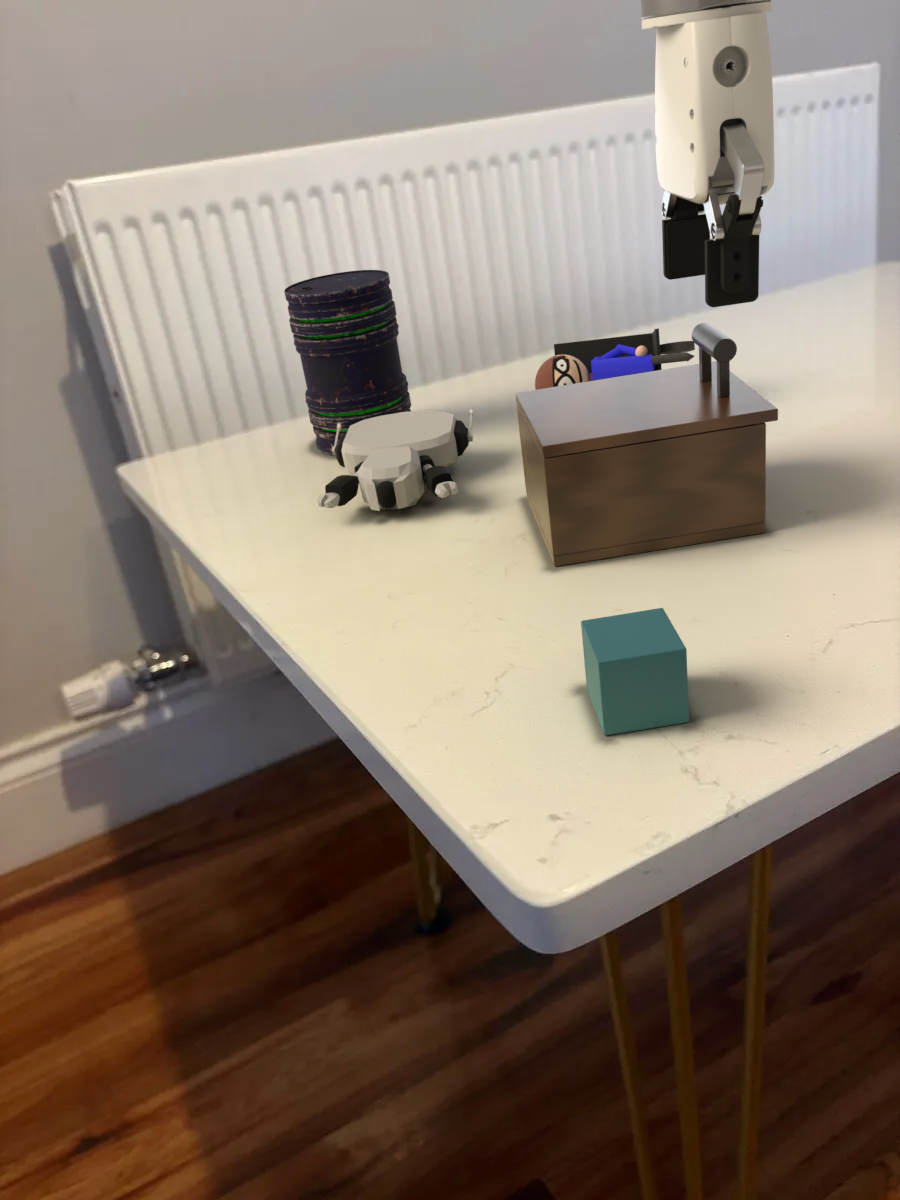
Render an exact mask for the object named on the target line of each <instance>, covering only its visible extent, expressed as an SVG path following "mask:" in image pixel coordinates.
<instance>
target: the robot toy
mask: <svg viewBox="0 0 900 1200" xmlns="http://www.w3.org/2000/svg"><path fill="white" fill-rule="evenodd" d="M468 415H469V422H468V423H469V425H468V427H467V426H466V425H465V423H464V422H463V421H462V420H459V419H457V418H456V417H455V414H453V413H450V412H447V411H443V410H442V411H440V410H416V411H412V410H411V412H400V413H394V414H388V415H382V416H378V417H373V418H369V419H365V420H362V421H360V422H357V423H355V424H353V425H351V426H350V427H349V429H348V432H345V433H343V434H342V436H341V438H340V439H339V434H340V431H341V424H340V423H339V424H337V433H336V438H335V444H334V446H332V454H333V455H332V456H333V457H335V458H336V461H337V463H338V464H339V466H340V467H342V468H345V469H346V471H347V472H348V473H349V474H341V475H338V476H336V477H334V478H333V479H332V480H331V481H330V482H328V483H327V484H325V486H324V487H325V489H324V491H325V493H322V494H319V495H318V497H317V499H316V504H317V506H318V507H320V508H326V509H333V508H336V507H343V506H346V505H347V504H348V503H349V502H350V501H352V500H353V499H354V498H356V496H357V495H358V491H359V488H360V493H361V497H362V500H363V502H364V503H366V504H367V505H368V506H369V508H370V510H371V511H378V512H380V511H382V510H383V511H385V510H400V509H405V508H411V507H414V506H416V505H417V504H418V501H419V500H420V499H421V497H422V496H423V495H424V493H425V485H426V487H427V489H428V490H429V492H430V493H431V494H432V495H433V496H434V497H438V498H441V499H443V498H447V497H449V495H452V496H453V495H457V494H458V492H459V486H458V484H457V483H456V482H455V481H454V479H453V477H452V474H451V472H450V471H448V469H447V468H448V467H450V466H452V465H454V464H456V463H457V459H458V457H461V456H463V455H464V454H465V451H466V450H467V448H468V447H469V444H470V443H471V442H474V435H473V417H474V410H473V409H472V408H471V409H469V414H468ZM338 440H339V441H338Z"/></svg>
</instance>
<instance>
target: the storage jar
mask: <svg viewBox="0 0 900 1200" xmlns="http://www.w3.org/2000/svg"><path fill="white" fill-rule="evenodd" d="M389 273H390V272H388V271H386V270H381V269H361V270H349V271H342V272H341V271H340V272H334V273H330V274H325V275H324V274H323V275H320V276H316V277H312V278H311V277H310V278H308V279H304V280H301V281H298V282H296V283H293V284H291V285H289V286H287V287H286V288H285V289H284V291H283V293H284V297H285V300H286V302H287V304H288V306H287V311H288V315H289V319H288V322H289V326H290V329H291V330H290V331H291V333H292V334H293V335H292V337H293V340H294V341H293V345H294V346H295V351H296V353H298V354H299V357H300V361H301V367H302V371H303V376H304V381H305V385H306V390H305V393H304V396H305V403H306V406H307V408H308V410H307V412H308V418H309V421H310V424H311V425H312V430H313V433H314V435H315V438H316V439H315V445H316V450H318V451H319V452H320V453H322V454H325V455H328V456H333V454H332V446H334V444H335V438H336V433H337V424H339V423H340V424H341V431H340V434H339V439H340V438H341V436H342V434H343V433H345V432H348V429H349V427H350V426H351V425H353V424H355V423H357V422H360V421H362V420H365V419H369V418H373V417H378V416H382V415H388V414H394V413H400V412H412V410H411V407H412V402H411V401H412V400H411V394H410V392H409V387H408V386H409V382H408V380H407V375H406V374H405V373H404V372H403V368H402V362H401V356H400V350H399V343H398V336H399V334H400V332H399V327H400V326H399V324H398V319H397V317H396V316H397V309H396V308H397V307H396V302H395V301H394V299H393V292H392V289H391V288H390V284H391V279H390V278H391V277H390V274H389ZM338 441H339V440H338Z"/></svg>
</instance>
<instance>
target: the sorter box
mask: <svg viewBox="0 0 900 1200" xmlns="http://www.w3.org/2000/svg"><path fill="white" fill-rule="evenodd" d="M516 413H517V422H518V430H519V439H520V448H521V449H520V450H521V459H522V467H523V476H524V485H525V494H526V500H527V502H528V505H529V508H530V510H531V512H532V515H533V517H534V520H535V523H536V524H537V527H538V529H539V532H540V534H541V538H542V539H543V542H544V544H545V546H546V549H547V551H548V555H549V557H550V559H551V562H552V564H553V566H554V567H560V566H566V565H572V564H573V565H574V564H578V563H585V562H591V561H597V560H604V559H609V558H616V557H622V556H628V555H634V554H640V553H641V554H642V553H647V552H653V551H660V550H666V549H671V548H678V547H685V546H692V545H697V544H703V543H709V542H717V541H722V540H726V539H735V538H740V537H744V536H745V537H747V536H752V535H759V534H764V533H766V509H767V508H766V504H767V503H766V501H767V500H766V499H767V497H766V496H767V495H766V490H767V489H766V488H767V486H766V485H767V484H766V483H767V476H766V475H767V471H766V470H767V469H766V467H767V424H766V423H767V422H765V423H759V424H752V425H746V426H740V427H734V428H727V429H721V430H715V431H709V432H702V433H696V434H690V435H684V436H677V437H671V438H665V439H659V440H652V441H646V442H640V443H634V444H627V445H621V446H615V447H609V448H602V449H596V450H590V451H584V452H577V453H571V454H565V455H559V456H552V457H546V458H543V456H542V454H541V452H540V450H539V448H538V446H537V444H536V441H535V439H534V437H533V435H532V433H531V431H530V429H529V427H528V425H527V423H526V421H525V419H524V417H523V415H522V413H521V411H520V409H519V407H518V405H517V403H516Z"/></svg>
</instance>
